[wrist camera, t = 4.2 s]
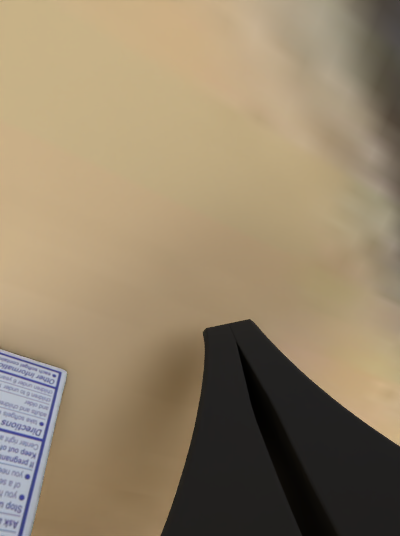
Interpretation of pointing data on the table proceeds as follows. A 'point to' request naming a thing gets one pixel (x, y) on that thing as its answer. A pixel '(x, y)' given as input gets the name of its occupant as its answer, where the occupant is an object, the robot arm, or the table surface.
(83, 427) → the table surface
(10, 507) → the medicine box
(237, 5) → the table surface
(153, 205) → the table surface
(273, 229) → the table surface
